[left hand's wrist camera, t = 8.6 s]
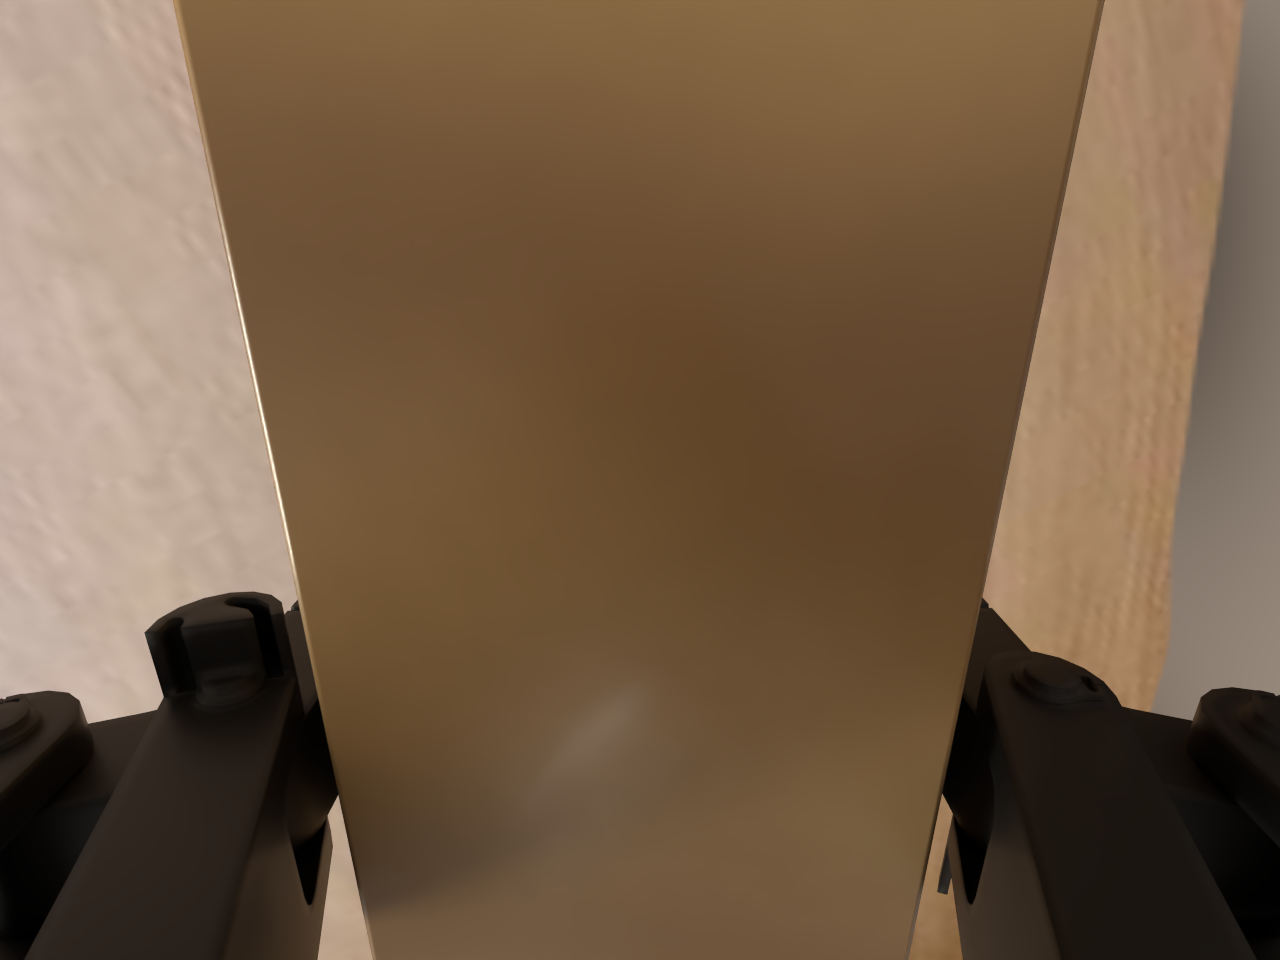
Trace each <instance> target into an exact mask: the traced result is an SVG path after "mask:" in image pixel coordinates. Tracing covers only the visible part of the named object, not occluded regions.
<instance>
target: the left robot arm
mask: <svg viewBox="0 0 1280 960" xmlns="http://www.w3.org/2000/svg"><path fill="white" fill-rule="evenodd" d="M988 605H989V604H988V603H987V602H986V601H985V600H984V599H983V598H982V601H981V606H980V610H979V615H978V620H977V625H976V630H975V635H974V640H973V645H972V650H971V654H970V659H969V664H968V669H967V674H966V679H965V684H964V689H963V693H962V698H961V703H960V708H959V713H958V718H957V723H956V728H955V732H954V737H953V742H952V747H951V752H950V757H949V762H948V767H947V772H946V776H945V781H944V786H943V791H942V794H943V796H944V797H945V799H946V801H947V803H948V805H949V807H950V809H951V811H952V813H953V816H952V821H951V825H950V830H949V835H948V839H947V844H946V849H945V853H944V858H943V863H942V867H941V872H940V876H939V884H938V891H937V892H939V893H943V894H947V893H948V889H949V884H950V880H951V878H952V884H953V891H954V898H955V905H956V913H957V920H958V927H959V934H960V942H961V949H962V956H963V960H1280V695H1278V696H1275V695H1274V694H1273V693H1269V692H1265V691H1260V690H1249V689H1241V688H1234V687H1230V688H1221V689H1212V690H1210V691H1209V692H1208V693H1206V694H1205V695H1203V696H1202V697H1201V699H1200V702H1199V704H1198V707H1197V710H1196V713H1195V716H1194V719H1193V721H1191V720H1186V719H1181V718H1175V717H1170V716H1165V715H1160V714H1155V713H1150V712H1145V711H1140V710H1135V709H1130V708H1126V707H1122V706H1121V704H1120V702H1119V701H1118V699H1117V697H1116V695H1115V694H1114V693H1113V692H1112V691H1111V690H1110V688H1109V687H1108V686H1107V685H1106V684H1105V682H1104V681H1102V680H1101V679H1099V678H1098V677H1096V676H1095V675H1093V674H1092V673H1090V672H1089V671H1087V670H1086V669H1084V668H1082V667H1080V666H1078V665H1075V664H1073V663H1071V662H1068V661H1066V660H1064V659H1061V658H1058V657H1054V656H1050V655H1046V654H1042V653H1038V652H1031V651H1030V650H1029V649H1028V647H1027V646H1026V645H1025V644H1024V643H1023V642H1022V641H1021V640H1020V639H1019V638H1018V636H1017V635H1016V634H1015V633H1014V632H1013V631H1012V630H1011V629H1010V628H1009V626H1008V625H1007V624H1006V623H1005V622H1004V621H1003V620H1002V619H1001V618H1000V616H999V615H998V614H997V613H996V612H995V611H994V610H993V609H992V608H989V606H988ZM145 636H146V639H147V643H148V646H149V649H150V653H151V656H152V659H153V662H154V666H155V669H156V672H157V676H158V679H159V682H160V686H161V689H162V692H163V696H164V698H163V700H162V702H161V704H160V706H159V707H158V709H157V710H154V711H150V712H146V713H141V714H136V715H131V716H126V717H121V718H116V719H111V720H106V721H101V722H95V723H90V724H88V723H87V721H86V718H85V715H84V712H83V709H82V707H81V704H80V701H79V700H78V699H76V698H75V697H74V696H72V695H71V694H69V693H66V692H56V691H42V692H35V693H27V694H18V695H14V696H9V697H6V699H4V700H3V699H0V960H317V958H318V951H319V944H320V936H321V929H322V922H323V914H324V907H325V900H326V893H327V885H328V878H329V871H330V863H331V856H332V849H333V844H332V836H331V830H330V825H329V821H328V816H327V815H328V813H329V811H330V810H331V808H332V806H333V804H334V802H335V800H336V798H337V796H338V790H337V785H336V780H335V775H334V770H333V766H332V761H331V756H330V751H329V746H328V742H327V737H326V732H325V727H324V722H323V718H322V713H321V708H320V703H319V698H318V694H317V689H316V684H315V679H314V674H313V670H312V665H311V660H310V655H309V650H308V646H307V641H306V636H305V631H304V627H303V622H302V617H301V612H300V607H299V603H298V600H297V601H296V602H295V603H294V605H293V606H292V607H291V611H287V612H286V613H285V615H284V611H283V607H282V602H280V601H279V600H278V599H276V598H275V597H273V596H272V595H269V594H263V593H258V592H235V593H227V594H222V595H217V596H212V597H208V598H204V599H201V600H198V601H195V602H193V603H190V604H187V605H184V606H182V607H179V608H177V609H176V610H174V611H172V612H170V613H169V614H167V615H165V616H163V617H161V618H160V619H158V620H157V621H156V622H155V623H154V624H153V625H152V626H151V627H150V628H149V629H148V630H147V631H146V632H145Z"/></svg>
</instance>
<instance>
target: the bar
mask: <svg viewBox="0 0 1280 960" xmlns="http://www.w3.org/2000/svg"><path fill="white" fill-rule="evenodd" d="M1104 1H1105V0H173V3H174V8H175V12H176V17H177V22H178V27H179V32H180V36H181V41H182V46H183V51H184V56H185V60H186V65H187V70H188V75H189V80H190V84H191V89H192V94H193V99H194V104H195V108H196V113H197V118H198V123H199V128H200V132H201V137H202V142H203V147H204V151H205V156H206V161H207V166H208V171H209V175H210V180H211V185H212V190H213V195H214V199H215V204H216V209H217V214H218V219H219V223H220V228H221V233H222V238H223V243H224V247H225V252H226V257H227V262H228V267H229V271H230V276H231V281H232V286H233V291H234V295H235V300H236V305H237V310H238V315H239V319H240V324H241V329H242V334H243V339H244V343H245V348H246V353H247V358H248V363H249V367H250V372H251V377H252V382H253V387H254V391H255V396H256V401H257V406H258V411H259V415H260V420H261V425H262V430H263V435H264V439H265V444H266V449H267V454H268V459H269V463H270V468H271V473H272V478H273V483H274V487H275V492H276V497H277V502H278V507H279V511H280V516H281V521H282V526H283V531H284V535H285V540H286V545H287V550H288V555H289V559H290V564H291V569H292V574H293V579H294V583H295V588H296V593H297V598H298V603H299V607H300V612H301V617H302V622H303V627H304V631H305V636H306V641H307V646H308V650H309V655H310V660H311V665H312V670H313V674H314V679H315V684H316V689H317V694H318V698H319V703H320V708H321V713H322V718H323V722H324V727H325V732H326V737H327V742H328V746H329V751H330V756H331V761H332V766H333V770H334V775H335V780H336V785H337V790H338V794H339V799H340V804H341V809H342V814H343V818H344V823H345V828H346V833H347V838H348V842H349V847H350V852H351V857H352V862H353V866H354V871H355V876H356V881H357V886H358V890H359V895H360V900H361V905H362V910H363V914H364V919H365V924H366V929H367V934H368V938H369V943H370V948H371V953H372V958H373V960H908V957H909V952H910V947H911V942H912V937H913V933H914V928H915V923H916V918H917V913H918V908H919V903H920V898H921V893H922V889H923V884H924V879H925V874H926V869H927V864H928V859H929V854H930V850H931V845H932V840H933V835H934V830H935V825H936V820H937V815H938V811H939V806H940V801H941V796H942V791H943V786H944V781H945V776H946V772H947V767H948V762H949V757H950V752H951V747H952V742H953V737H954V732H955V728H956V723H957V718H958V713H959V708H960V703H961V698H962V693H963V689H964V684H965V679H966V674H967V669H968V664H969V659H970V654H971V650H972V645H973V640H974V635H975V630H976V625H977V620H978V615H979V610H980V606H981V601H982V596H983V591H984V586H985V581H986V576H987V571H988V567H989V562H990V557H991V552H992V547H993V542H994V537H995V532H996V528H997V523H998V518H999V513H1000V508H1001V503H1002V498H1003V493H1004V489H1005V484H1006V479H1007V474H1008V469H1009V464H1010V459H1011V454H1012V449H1013V445H1014V440H1015V435H1016V430H1017V425H1018V420H1019V415H1020V410H1021V406H1022V401H1023V396H1024V391H1025V386H1026V381H1027V376H1028V371H1029V367H1030V362H1031V357H1032V352H1033V347H1034V342H1035V337H1036V332H1037V328H1038V323H1039V318H1040V313H1041V308H1042V303H1043V298H1044V293H1045V288H1046V284H1047V279H1048V274H1049V269H1050V264H1051V259H1052V254H1053V249H1054V245H1055V240H1056V235H1057V230H1058V225H1059V220H1060V215H1061V210H1062V206H1063V201H1064V196H1065V191H1066V186H1067V181H1068V176H1069V171H1070V166H1071V162H1072V157H1073V152H1074V147H1075V142H1076V137H1077V132H1078V127H1079V123H1080V118H1081V113H1082V108H1083V103H1084V98H1085V93H1086V88H1087V84H1088V79H1089V74H1090V69H1091V64H1092V59H1093V54H1094V49H1095V45H1096V40H1097V35H1098V30H1099V25H1100V20H1101V15H1102V10H1103V5H1104Z"/></svg>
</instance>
